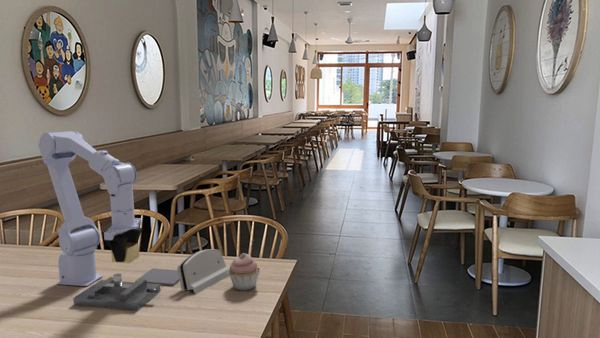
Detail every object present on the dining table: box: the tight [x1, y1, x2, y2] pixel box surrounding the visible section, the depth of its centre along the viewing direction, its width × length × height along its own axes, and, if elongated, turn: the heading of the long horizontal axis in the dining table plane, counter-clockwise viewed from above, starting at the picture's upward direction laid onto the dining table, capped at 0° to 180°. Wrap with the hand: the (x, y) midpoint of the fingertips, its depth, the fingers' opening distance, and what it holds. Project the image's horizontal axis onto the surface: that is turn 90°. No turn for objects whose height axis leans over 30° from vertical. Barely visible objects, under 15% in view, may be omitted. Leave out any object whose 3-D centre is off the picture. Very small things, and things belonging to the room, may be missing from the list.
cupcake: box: [227, 252, 261, 291], centre depth 128 cm, size 9×9×10 cm
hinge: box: [177, 248, 230, 295], centre depth 132 cm, size 17×5×10 cm, turn 151°
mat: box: [134, 268, 180, 287], centre depth 135 cm, size 12×10×1 cm
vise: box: [73, 272, 162, 312], centre depth 121 cm, size 20×12×6 cm, turn 80°
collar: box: [110, 242, 140, 264], centre depth 122 cm, size 5×5×4 cm
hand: (125, 257), depth 123 cm, fingers closed on collar, 5 cm apart
